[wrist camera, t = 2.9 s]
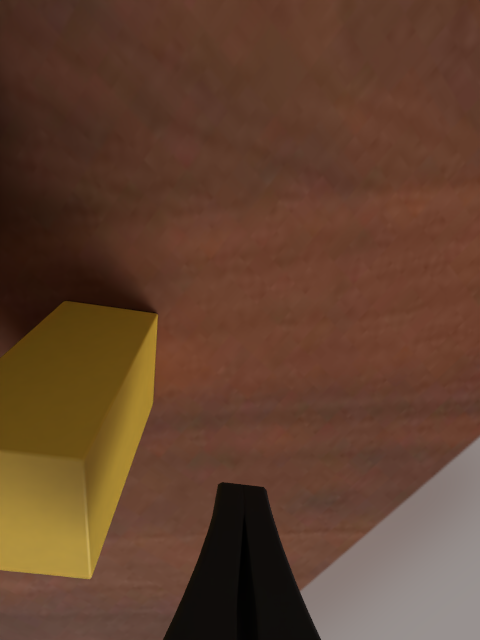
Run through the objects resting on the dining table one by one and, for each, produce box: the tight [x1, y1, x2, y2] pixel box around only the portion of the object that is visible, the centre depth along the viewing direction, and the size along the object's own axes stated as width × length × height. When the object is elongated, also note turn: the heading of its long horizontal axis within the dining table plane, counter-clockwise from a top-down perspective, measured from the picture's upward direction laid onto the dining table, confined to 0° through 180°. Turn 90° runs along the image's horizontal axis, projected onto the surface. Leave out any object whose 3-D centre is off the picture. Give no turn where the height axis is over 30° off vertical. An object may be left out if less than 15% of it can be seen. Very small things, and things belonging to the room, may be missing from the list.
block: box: [0, 301, 158, 579], centre depth 13 cm, size 4×5×8 cm
